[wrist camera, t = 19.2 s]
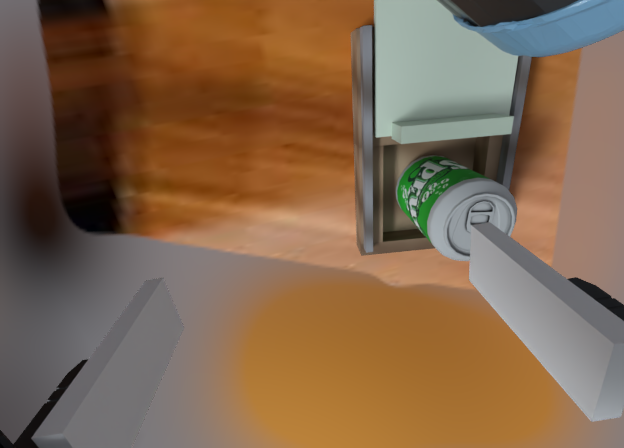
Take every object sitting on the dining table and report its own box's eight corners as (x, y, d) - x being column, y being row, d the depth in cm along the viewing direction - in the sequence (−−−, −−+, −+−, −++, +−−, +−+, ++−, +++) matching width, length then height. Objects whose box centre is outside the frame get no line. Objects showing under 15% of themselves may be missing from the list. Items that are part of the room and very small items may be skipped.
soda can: (462, 152, 36) (535, 181, 26) (451, 214, 39) (513, 265, 28) (395, 153, 36) (441, 184, 25) (390, 216, 39) (429, 269, 28)
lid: (374, -2, 28) (386, -14, 24) (523, -14, 28) (556, -28, 25) (374, 138, 33) (384, 145, 29) (502, 127, 33) (527, 132, 29)
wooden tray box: (350, 33, 32) (359, 26, 28) (512, 19, 32) (543, 10, 28) (356, 243, 41) (363, 260, 37) (482, 231, 41) (502, 246, 37)
